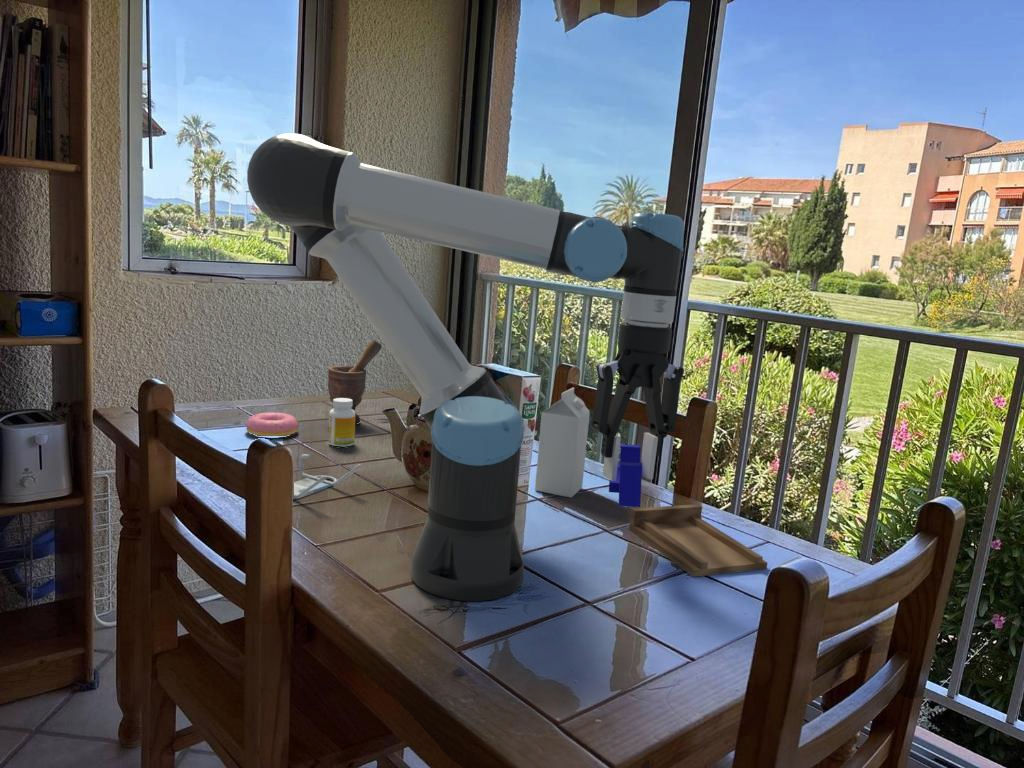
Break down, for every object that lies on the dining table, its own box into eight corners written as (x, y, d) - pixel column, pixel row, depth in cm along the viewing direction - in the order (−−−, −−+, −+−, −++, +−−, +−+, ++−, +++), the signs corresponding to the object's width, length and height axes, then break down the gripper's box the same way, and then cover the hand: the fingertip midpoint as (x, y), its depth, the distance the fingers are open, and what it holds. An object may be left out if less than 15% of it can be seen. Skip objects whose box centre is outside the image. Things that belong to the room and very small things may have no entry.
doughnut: (234, 433, 159) (234, 414, 158) (274, 425, 168) (275, 407, 167) (269, 443, 153) (269, 424, 153) (309, 434, 163) (309, 416, 162)
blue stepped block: (609, 480, 116) (611, 443, 115) (638, 482, 116) (640, 445, 115) (608, 505, 105) (609, 464, 104) (640, 507, 104) (642, 465, 103)
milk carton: (534, 491, 136) (543, 390, 133) (547, 481, 143) (555, 384, 139) (571, 498, 134) (581, 396, 130) (582, 488, 140) (592, 390, 137)
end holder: (693, 576, 105) (696, 553, 104) (629, 528, 121) (631, 508, 121) (766, 568, 110) (769, 546, 109) (695, 523, 126) (697, 504, 126)
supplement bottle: (359, 444, 157) (361, 400, 155) (341, 449, 153) (343, 403, 151) (341, 439, 160) (343, 395, 158) (322, 444, 155) (324, 399, 154)
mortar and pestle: (363, 416, 182) (367, 336, 178) (382, 424, 175) (386, 341, 171) (320, 421, 174) (322, 337, 170) (337, 429, 168) (340, 342, 164)
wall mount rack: (312, 475, 136) (313, 444, 135) (371, 491, 130) (373, 459, 129) (247, 497, 122) (247, 464, 121) (310, 516, 117) (311, 481, 115)
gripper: (601, 324, 100) (583, 487, 104) (715, 329, 107) (694, 482, 111) (577, 317, 107) (561, 471, 111) (685, 322, 114) (666, 467, 118)
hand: (627, 476), depth 111 cm, fingers closed on blue stepped block, 6 cm apart
